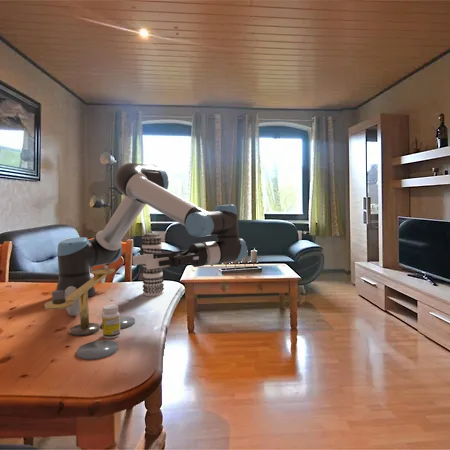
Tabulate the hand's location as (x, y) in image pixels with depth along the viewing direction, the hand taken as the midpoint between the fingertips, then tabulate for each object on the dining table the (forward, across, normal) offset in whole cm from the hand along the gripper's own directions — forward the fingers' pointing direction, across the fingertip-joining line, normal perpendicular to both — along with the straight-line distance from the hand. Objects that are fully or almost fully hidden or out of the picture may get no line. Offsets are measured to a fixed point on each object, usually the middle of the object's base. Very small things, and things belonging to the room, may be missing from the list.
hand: (139, 262), depth 105 cm
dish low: (+15, -9, -20) cm, 26 cm away
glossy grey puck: (+5, +9, -19) cm, 22 cm away
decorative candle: (-16, +39, -18) cm, 46 cm away
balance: (+15, +8, -19) cm, 26 cm away
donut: (+16, +26, -18) cm, 36 cm away
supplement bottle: (+10, 0, -20) cm, 22 cm away
